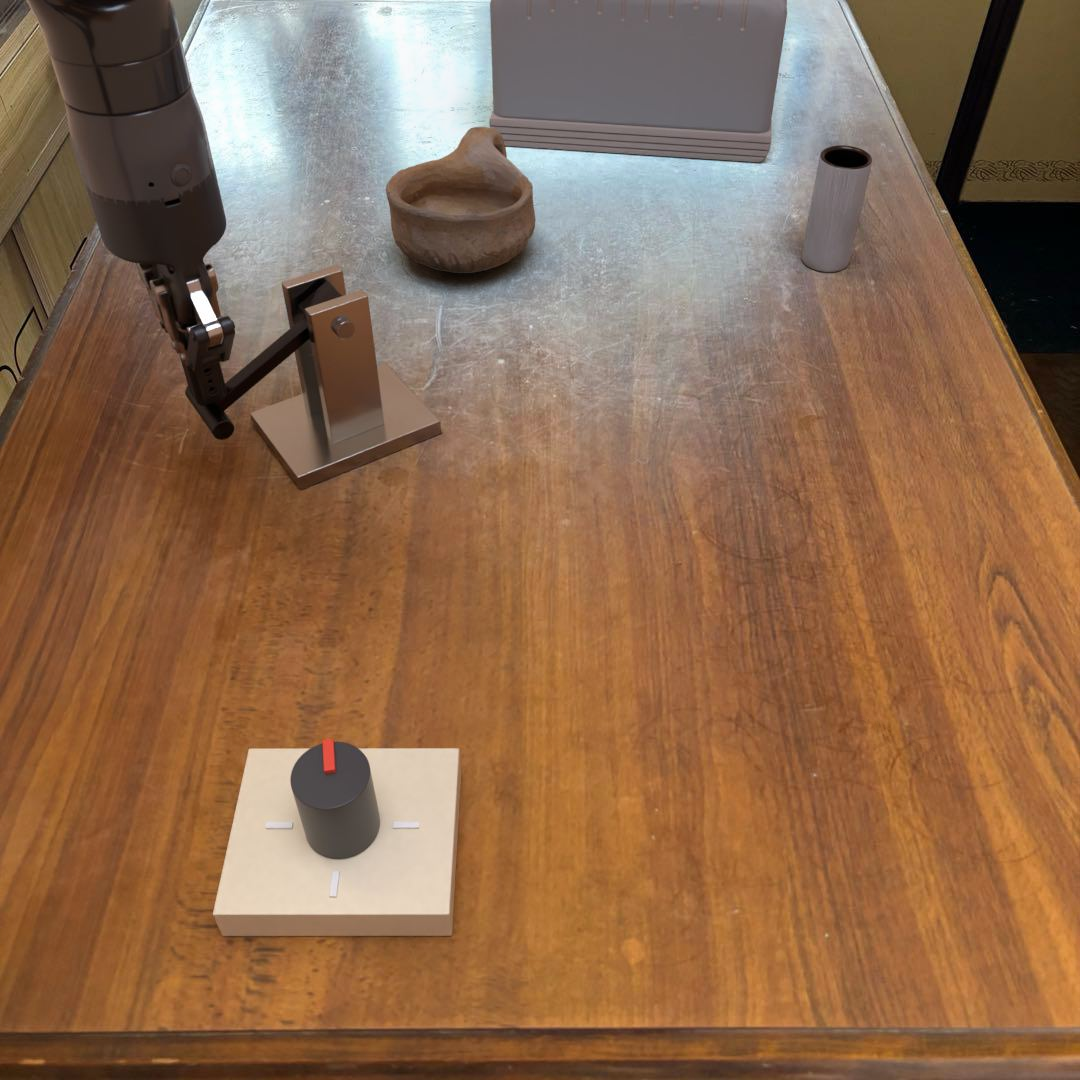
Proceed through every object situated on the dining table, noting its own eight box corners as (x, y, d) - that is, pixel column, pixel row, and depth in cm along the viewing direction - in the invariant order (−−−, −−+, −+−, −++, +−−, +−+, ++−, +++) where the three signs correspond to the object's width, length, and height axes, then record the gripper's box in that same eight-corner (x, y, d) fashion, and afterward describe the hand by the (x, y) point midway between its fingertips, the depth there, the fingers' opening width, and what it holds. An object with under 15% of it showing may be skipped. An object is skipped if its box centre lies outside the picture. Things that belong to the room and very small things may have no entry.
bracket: (300, 490, 82) (270, 347, 73) (252, 425, 87) (219, 284, 78) (441, 433, 86) (429, 292, 77) (388, 375, 92) (371, 236, 83)
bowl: (386, 185, 112) (406, 91, 105) (520, 221, 114) (547, 131, 108) (366, 280, 99) (387, 179, 92) (517, 317, 102) (548, 222, 95)
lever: (225, 447, 78) (204, 428, 76) (197, 406, 81) (176, 387, 79) (368, 326, 78) (351, 305, 76) (334, 291, 82) (317, 269, 80)
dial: (383, 852, 58) (372, 798, 54) (306, 865, 58) (290, 811, 54) (377, 788, 61) (366, 732, 57) (304, 799, 60) (288, 743, 57)
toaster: (768, 35, 143) (790, -121, 130) (767, 163, 118) (795, -15, 105) (537, 23, 146) (537, -131, 133) (489, 145, 121) (483, -30, 108)
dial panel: (222, 936, 57) (211, 913, 56) (256, 772, 65) (248, 746, 63) (452, 936, 58) (449, 912, 56) (461, 772, 65) (459, 746, 63)
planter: (792, 262, 104) (811, 159, 97) (813, 242, 107) (833, 140, 99) (836, 278, 102) (859, 173, 95) (857, 257, 105) (881, 153, 97)
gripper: (52, 138, 68) (127, 367, 80) (121, 230, 60) (192, 468, 72) (170, 109, 71) (225, 334, 83) (250, 193, 63) (297, 428, 75)
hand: (209, 396), depth 78 cm, fingers closed
